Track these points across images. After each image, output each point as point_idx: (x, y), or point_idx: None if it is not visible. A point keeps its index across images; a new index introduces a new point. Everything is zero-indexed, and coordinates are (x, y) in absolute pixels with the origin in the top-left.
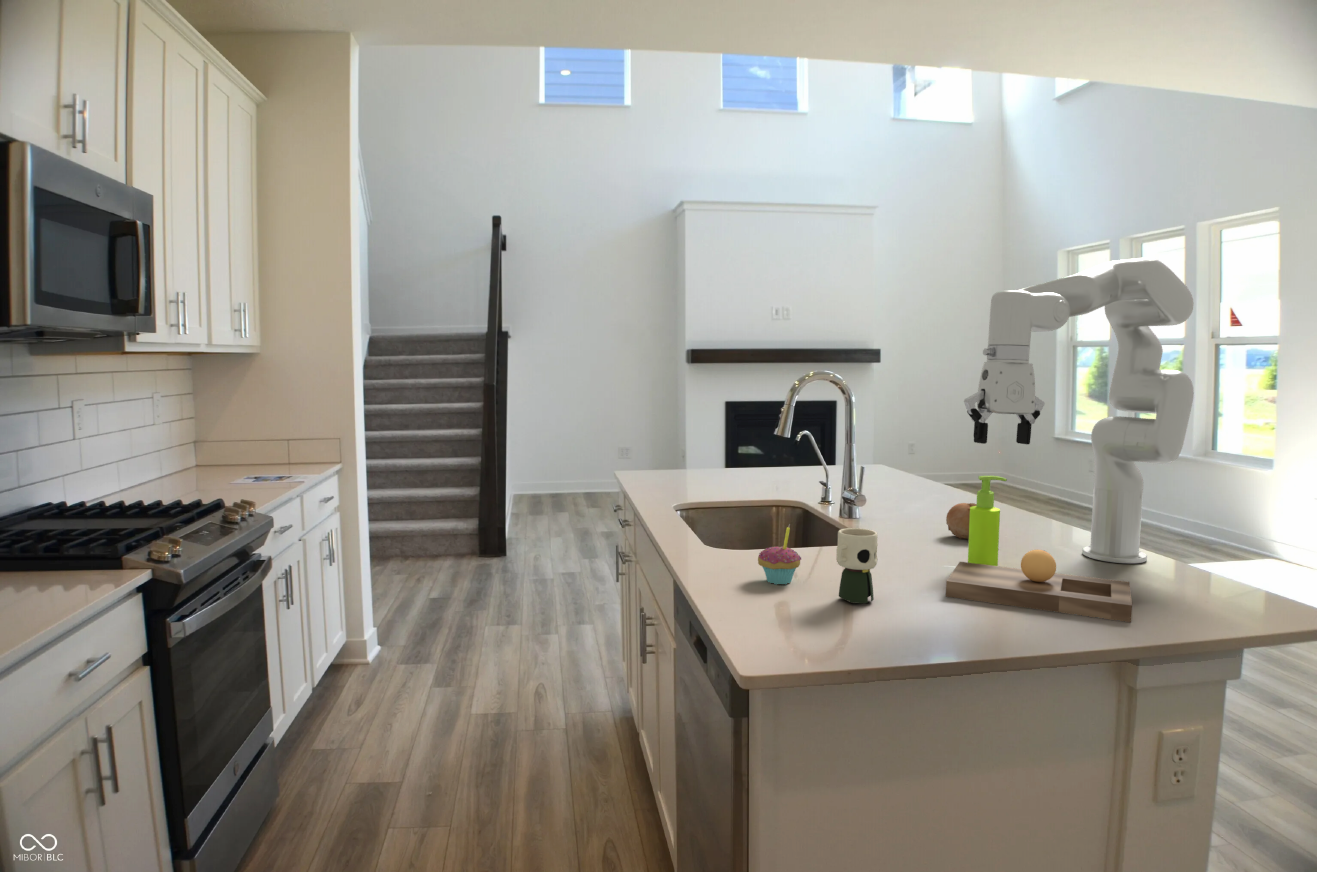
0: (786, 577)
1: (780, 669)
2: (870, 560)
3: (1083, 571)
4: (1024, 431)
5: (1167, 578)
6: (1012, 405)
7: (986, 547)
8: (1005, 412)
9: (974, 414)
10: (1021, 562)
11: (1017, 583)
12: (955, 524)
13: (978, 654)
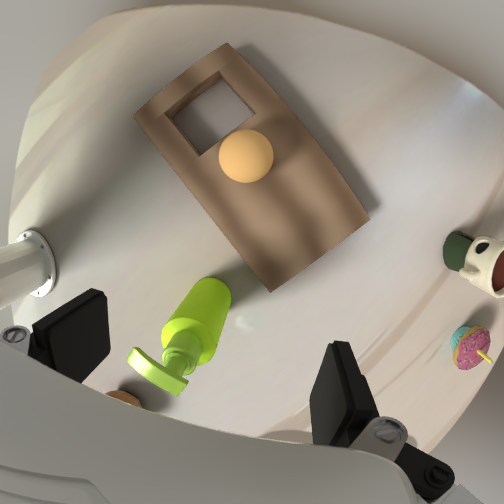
0: (468, 327)
1: None
2: (488, 237)
3: (96, 231)
4: (75, 336)
5: (47, 172)
6: (127, 472)
7: (214, 295)
8: (239, 435)
9: (434, 462)
10: (268, 170)
11: (285, 163)
12: None
13: (446, 76)
